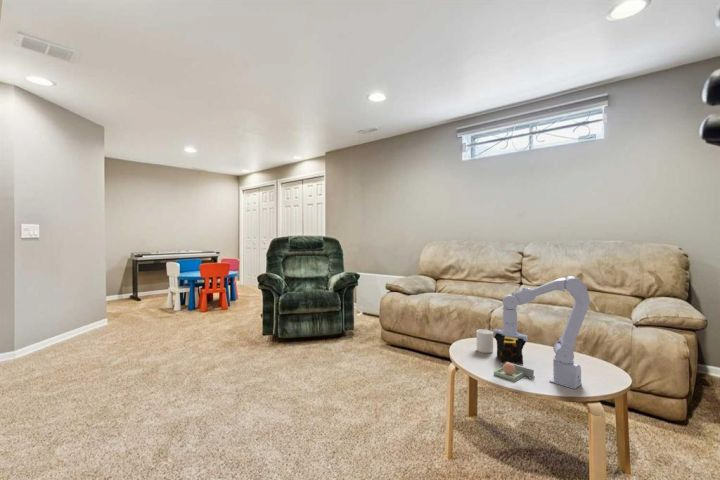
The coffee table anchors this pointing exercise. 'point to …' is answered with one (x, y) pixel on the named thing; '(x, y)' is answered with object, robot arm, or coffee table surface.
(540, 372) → the coffee table surface
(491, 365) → the coffee table surface
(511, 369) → the ball
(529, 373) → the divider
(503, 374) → the tray
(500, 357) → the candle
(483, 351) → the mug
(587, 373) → the coffee table surface
